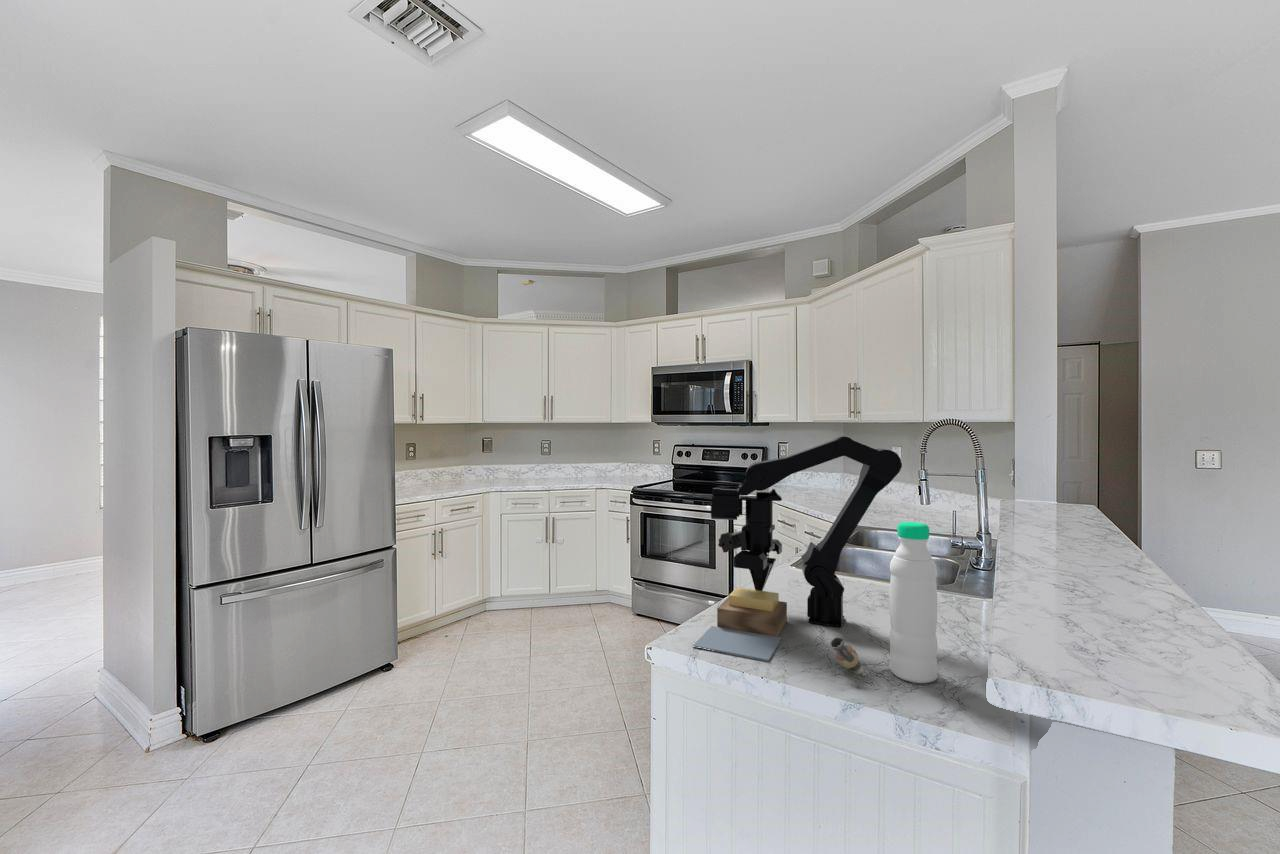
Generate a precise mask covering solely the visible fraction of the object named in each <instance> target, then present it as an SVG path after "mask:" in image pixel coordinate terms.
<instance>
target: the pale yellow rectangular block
mask: <svg viewBox="0 0 1280 854" xmlns="http://www.w3.org/2000/svg"><path fill="white" fill-rule="evenodd" d="M728 597H729V605H733V606H740V607H746V608H753V609H760V610H767V611H773V610H774V608H775V607H776V606H777V604H778V603H779V601H780V600H779V599H780V598H779V597H780V596H779V592H774V591H765V590H763V591H759V590H755V589H751V588H741V587H736V588H735V589H733V591H732V592H731V593H729V594H728Z"/></svg>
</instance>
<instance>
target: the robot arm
mask: <svg viewBox="0 0 1280 854" xmlns="http://www.w3.org/2000/svg"><path fill="white" fill-rule="evenodd" d="M841 457H846V458H849V459H851V460H853V461H855V462H857V463H860V464H861V468H860V473H859V475H858V476H859V477H858V482H857V483H856V485H855V487H854V489H853V490H852V492H851V493H850V494H849V497H848V498H847V500H846V502H845V503H844V505H843V507H842V508H841V510H840V512H839V513H838V515H837V517H836V518H835V520H834V521H833V523H832V525H830V528H829V530H828V531H827V533H826V534H825V536H824V537H823V539H822V540H821V541H820V542H818V543H817V544H815V543H814V542H813V541H810V542H809V544H808V547H807V549H806V551H805V552H804V554H801V556H800V558H801V559H802V561H801V564H800V565H801V570H802V573H803V576H804V579H805V581H806V582H807V583H808V585H810V586H812V587H811V589H810V591H809V595H808V597H807V613H806V614H807V616H806V617H807V618H808V623H811V624H816V625H822V626H830V627H835V628H837V627H838V628H842V626H843V623H844V619H845V616H844V591H845V587H844V585H843V584H842V582H841V580H840V578H839V577H838V576H837V575H836V572H837V571H836V570H837V569H838V565H839V561H840V558H841V554H842V551H843V549H844V548H845V546H846V545H847V543H848V541H849V540H850V538H851V537H852V535H853V533H854V531H855V530H856V528H857V526H858V525H859V524H860V522H861V520H862V518H863V517H864V515H865V513H866V512H867V510H869V509H868V508H869V507H870V506H871V503H872V502H873V501H874V499H875V498H876V496H877V495H878V494H879V493H880V492H881V491H882V490H883V489H885V487H886V486H888V485H889V484H890V483H891V482H892V481H893V480H894V479H895V478H896V477H897V476H898V474H899V473H900V472H901V470H902V466H903V463H902V460H901V457H900V456H899V454H898V453H896V452H895V451H893V450H891V449H885V448H874V447H871V446H868V445H866V444H863V443H861V442H858V441H856V440H853V439H852V438H851V437H849V436H837V437H835V438H834V439H832V440H829V441H825V442H824V443H822V444H818V445H815V446H813V447H810V448H807V449H804V450H802V451H799V452H796V453H793V454H790V455H787V456H785V457H780V458H774V459H773V458H772V459H766V460H762V461H754V462H752V463H751V464H749V466H748V467H747V469H746V471H745V479H744V480H743V481H742V483H740V484H739V485H738V488H736V489H735V488H720V487H713V488H712V489H711V490H712V492H711V493H712V495H711V503H710V517H711V520H731V521H737V520H738V518H740V516H743V501H745V524H744V525H742V527H741V530H740V531H736V532H732V533H731V532H729V531H727V532H725V533H722V534H720V537H719V538H718V545H717V546H718V547H719V548H721V549H722V553H723V554H724V553H729V551H732V550H736V549H740V550H741V551H739V552H738V553H736V554H735V555H734V556H733V558H732V561H733V562H732V563H733V564H732V567H733V568H737V569H744V570H749V572H750V575H751V576H750V577H751V579H752V583H753V586H754V590H759V591H764V589H765V586H766V584H767V582H768V579H769V576H770V575H771V572H772V569H773V567H774V565H775V562H776V561H777V559H776V558H774V557H770V553H771V552H775V553H776V555H781V553H783V544H782V542H781V541H780V540H778V539H777V538H774V539H773V531H775V529H776V525H775V524H773V521H774V520H773V512H774V511H773V508H774V507H773V506H774V503H773V502H781V501H782V500H783V498H782V496H781V495H780V494H778V492H777V491H776V489H775V488H771V487H772V486H774V485H776V484H778V483H780V482H781V481H782V480H784V479H786V478H787V477H789V476H791V475H793V474H796V473H799V472H802V471H804V470H807V469H809V468H813V467H816V466H818V465H821V464H824V463H826V462H830V461H833V460H835V459H837V458H841ZM769 488H771V490H770V491H769V492H768V491H767V492H766V491H765V490H767V489H769ZM755 491H756V492H755ZM753 492H755V493H756V495H750V494H752V493H753Z"/></svg>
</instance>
